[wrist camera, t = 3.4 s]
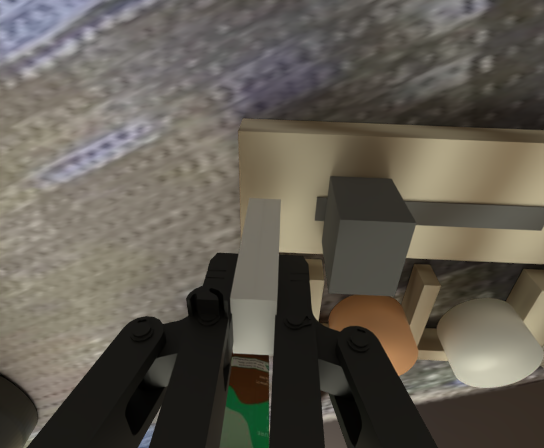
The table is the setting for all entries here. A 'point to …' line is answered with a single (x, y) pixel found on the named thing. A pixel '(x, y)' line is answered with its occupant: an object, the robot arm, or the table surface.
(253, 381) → the food container
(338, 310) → the brown egg
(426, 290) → the beige flat pieces
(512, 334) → the white egg
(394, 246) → the slider knob
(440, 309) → the table surface
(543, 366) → the toggle lever
